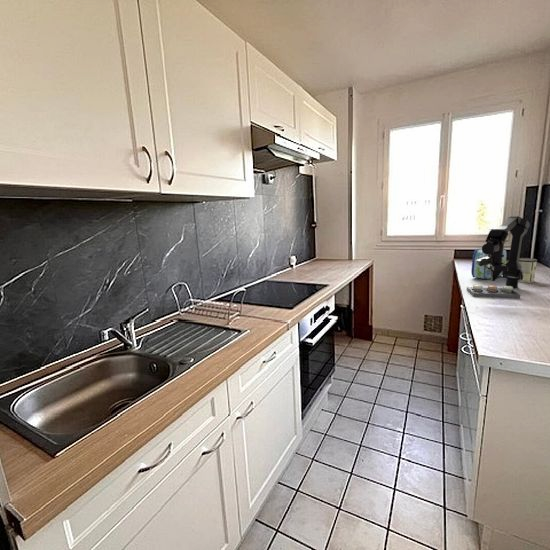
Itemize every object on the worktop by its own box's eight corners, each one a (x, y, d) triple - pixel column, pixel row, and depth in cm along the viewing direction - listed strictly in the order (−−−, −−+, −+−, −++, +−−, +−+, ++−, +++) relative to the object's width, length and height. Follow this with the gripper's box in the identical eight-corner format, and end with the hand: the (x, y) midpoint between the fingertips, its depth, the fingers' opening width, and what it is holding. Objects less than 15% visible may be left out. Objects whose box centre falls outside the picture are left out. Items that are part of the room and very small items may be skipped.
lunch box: (489, 273, 223) (492, 244, 218) (506, 276, 213) (510, 246, 209) (468, 278, 211) (470, 248, 207) (484, 281, 202) (488, 249, 197)
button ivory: (471, 290, 173) (472, 284, 172) (480, 290, 172) (481, 285, 171) (473, 292, 169) (474, 286, 168) (483, 292, 168) (483, 286, 167)
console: (466, 291, 178) (466, 286, 178) (509, 293, 172) (509, 288, 171) (473, 298, 165) (473, 293, 165) (520, 300, 159) (520, 294, 158)
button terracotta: (486, 290, 171) (486, 285, 170) (495, 291, 170) (495, 285, 169) (488, 292, 167) (489, 287, 166) (498, 293, 165) (498, 287, 165)
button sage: (500, 291, 169) (501, 285, 168) (510, 291, 167) (511, 286, 167) (503, 293, 165) (504, 287, 164) (513, 293, 163) (514, 288, 163)
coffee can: (513, 278, 206) (515, 257, 203) (532, 279, 201) (535, 258, 198) (514, 281, 198) (517, 259, 195) (535, 283, 192) (538, 260, 189)
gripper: (473, 250, 175) (471, 276, 178) (484, 254, 158) (481, 284, 161) (496, 250, 171) (493, 277, 175) (510, 255, 154) (506, 285, 157)
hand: (493, 281), depth 167 cm, fingers closed
